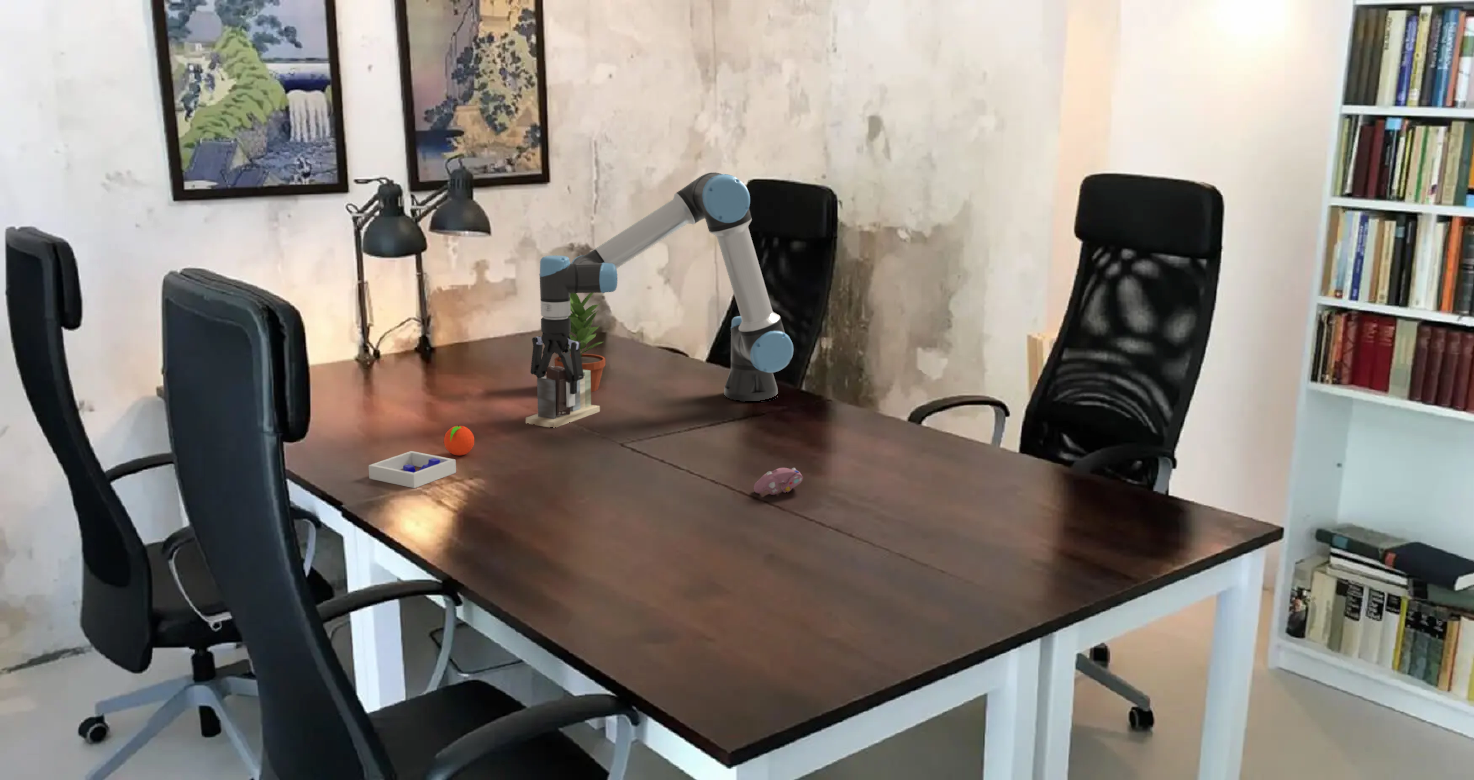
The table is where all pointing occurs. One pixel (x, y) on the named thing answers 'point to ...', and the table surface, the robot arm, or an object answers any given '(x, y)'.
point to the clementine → (459, 440)
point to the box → (559, 388)
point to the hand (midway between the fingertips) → (557, 403)
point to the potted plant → (585, 338)
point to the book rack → (548, 403)
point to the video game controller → (778, 480)
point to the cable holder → (431, 463)
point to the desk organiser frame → (393, 473)
